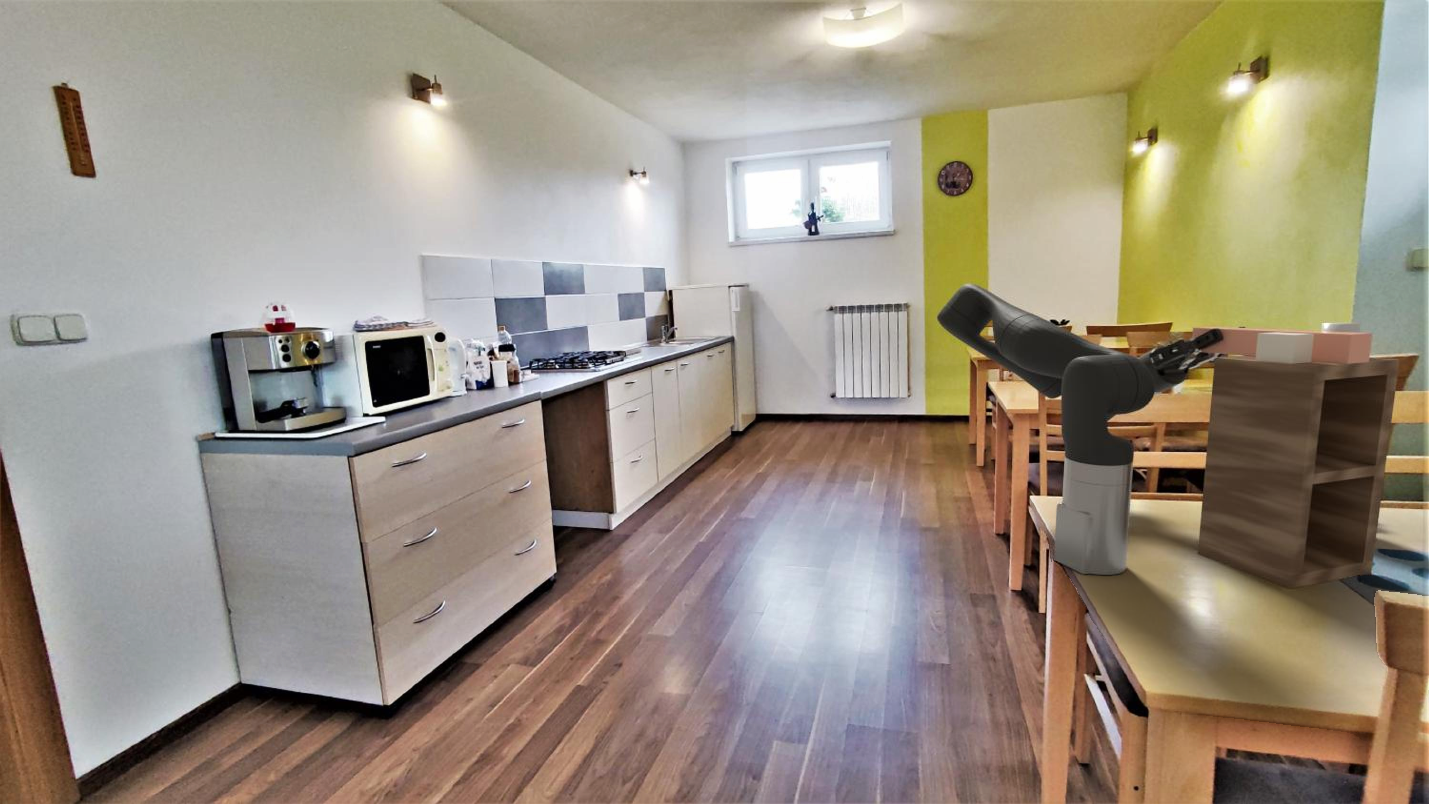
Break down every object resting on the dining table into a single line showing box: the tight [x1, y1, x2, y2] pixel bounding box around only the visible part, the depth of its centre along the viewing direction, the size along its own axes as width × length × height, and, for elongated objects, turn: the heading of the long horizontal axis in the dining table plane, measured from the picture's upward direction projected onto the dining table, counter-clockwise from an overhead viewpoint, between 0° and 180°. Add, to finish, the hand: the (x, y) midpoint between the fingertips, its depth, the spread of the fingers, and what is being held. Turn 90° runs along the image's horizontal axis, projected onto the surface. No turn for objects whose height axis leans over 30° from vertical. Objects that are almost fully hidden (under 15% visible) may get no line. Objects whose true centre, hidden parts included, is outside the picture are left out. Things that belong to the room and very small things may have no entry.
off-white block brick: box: [1255, 332, 1314, 364], centre depth 96 cm, size 4×5×4 cm
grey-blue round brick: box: [1320, 322, 1362, 333], centre depth 99 cm, size 4×4×5 cm
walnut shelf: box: [1197, 355, 1400, 590], centre depth 102 cm, size 16×14×32 cm
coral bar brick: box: [1191, 326, 1373, 364], centre depth 103 cm, size 4×23×4 cm, turn 15°
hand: (1232, 332), depth 109 cm, fingers open, 5 cm apart
